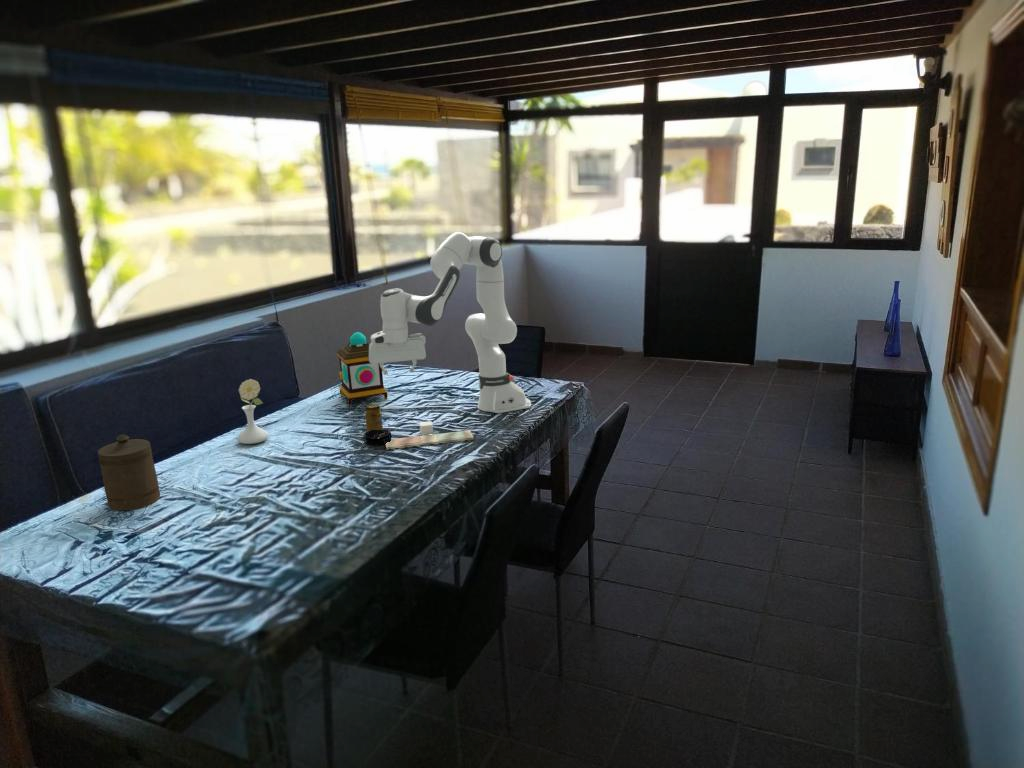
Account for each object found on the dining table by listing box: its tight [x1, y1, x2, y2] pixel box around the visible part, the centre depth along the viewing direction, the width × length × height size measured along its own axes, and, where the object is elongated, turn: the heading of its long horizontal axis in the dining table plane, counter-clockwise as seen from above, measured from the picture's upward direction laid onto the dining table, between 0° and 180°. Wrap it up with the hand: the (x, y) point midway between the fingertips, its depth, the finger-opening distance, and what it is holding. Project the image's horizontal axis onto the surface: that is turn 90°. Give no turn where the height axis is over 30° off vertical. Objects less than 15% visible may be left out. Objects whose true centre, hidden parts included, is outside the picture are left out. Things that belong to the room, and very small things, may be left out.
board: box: [385, 429, 475, 451], centre depth 275 cm, size 32×8×1 cm, turn 103°
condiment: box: [362, 403, 384, 437], centre depth 281 cm, size 7×8×12 cm
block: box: [419, 420, 434, 436], centre depth 283 cm, size 4×4×4 cm
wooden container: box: [97, 434, 161, 512], centre depth 232 cm, size 15×15×22 cm
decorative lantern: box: [336, 331, 388, 406], centre depth 327 cm, size 20×20×30 cm
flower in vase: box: [236, 378, 270, 445], centre depth 279 cm, size 13×11×25 cm
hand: (398, 373), depth 266 cm, fingers open, 8 cm apart
